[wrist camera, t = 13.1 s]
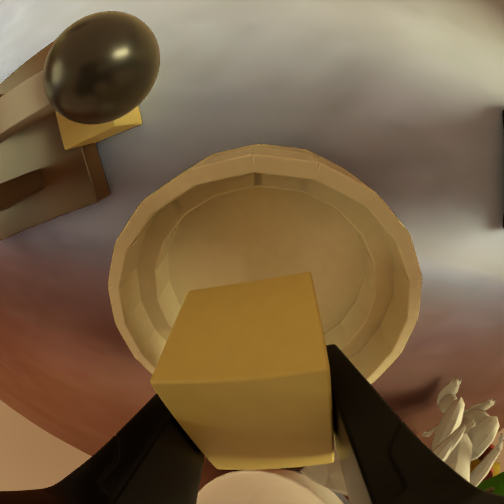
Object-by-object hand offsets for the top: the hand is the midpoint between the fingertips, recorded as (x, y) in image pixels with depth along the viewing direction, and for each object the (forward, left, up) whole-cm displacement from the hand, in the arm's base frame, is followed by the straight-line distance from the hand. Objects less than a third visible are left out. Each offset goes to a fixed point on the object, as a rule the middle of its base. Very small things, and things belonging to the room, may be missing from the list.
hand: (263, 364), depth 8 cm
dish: (0, 0, -6) cm, 6 cm away
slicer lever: (+7, -9, -1) cm, 12 cm away
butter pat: (0, 0, -1) cm, 1 cm away
